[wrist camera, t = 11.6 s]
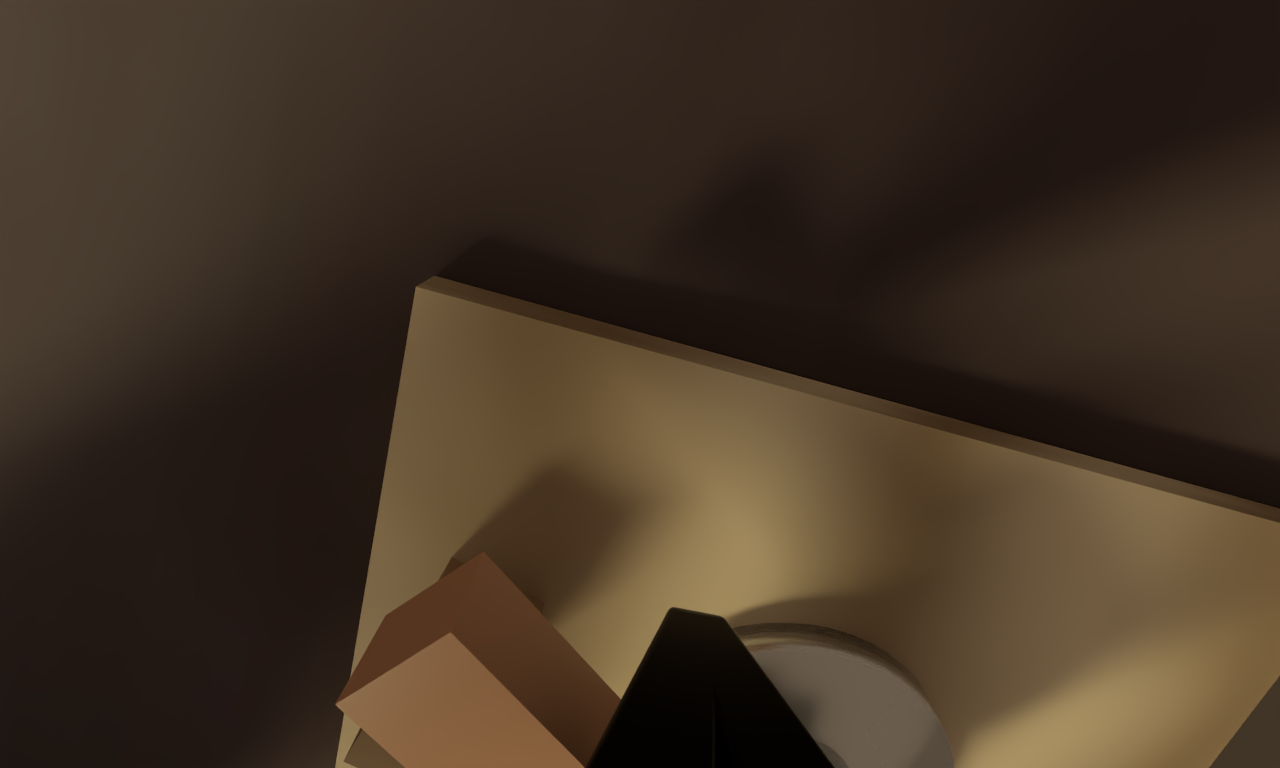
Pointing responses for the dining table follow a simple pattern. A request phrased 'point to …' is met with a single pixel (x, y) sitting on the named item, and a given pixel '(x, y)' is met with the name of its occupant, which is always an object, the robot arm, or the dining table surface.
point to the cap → (477, 681)
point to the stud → (850, 696)
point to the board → (823, 534)
